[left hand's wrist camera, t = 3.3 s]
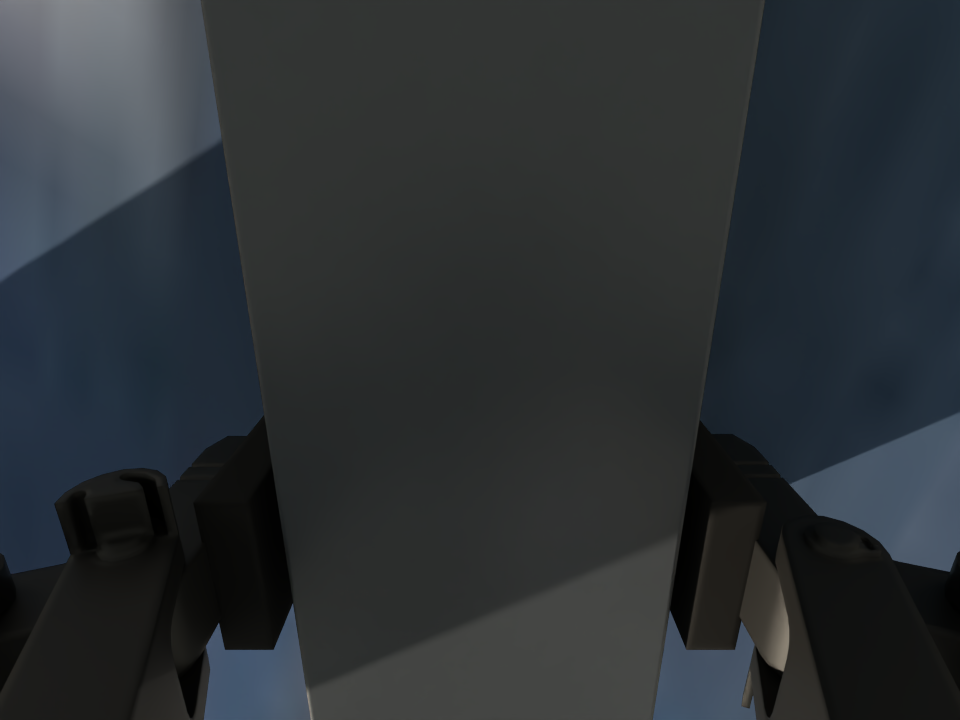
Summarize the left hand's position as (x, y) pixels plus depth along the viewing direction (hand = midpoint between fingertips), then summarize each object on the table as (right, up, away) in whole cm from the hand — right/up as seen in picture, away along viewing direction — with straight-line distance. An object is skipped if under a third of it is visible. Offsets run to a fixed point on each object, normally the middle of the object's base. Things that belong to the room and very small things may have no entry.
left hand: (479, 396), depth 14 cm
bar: (0, +27, -10) cm, 29 cm away
